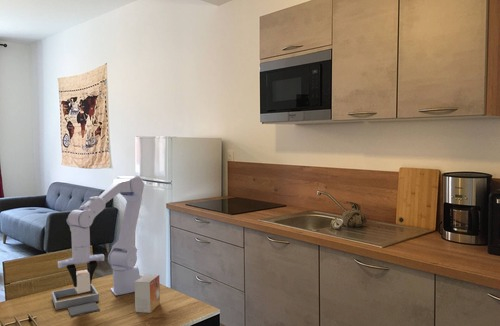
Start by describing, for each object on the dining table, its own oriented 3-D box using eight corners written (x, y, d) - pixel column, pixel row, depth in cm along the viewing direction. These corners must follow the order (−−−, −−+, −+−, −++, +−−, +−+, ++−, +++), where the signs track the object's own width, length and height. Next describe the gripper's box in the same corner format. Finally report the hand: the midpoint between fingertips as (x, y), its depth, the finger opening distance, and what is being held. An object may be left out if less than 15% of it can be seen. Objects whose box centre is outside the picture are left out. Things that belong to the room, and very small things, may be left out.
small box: (150, 313, 133) (149, 282, 133) (135, 312, 134) (133, 281, 134) (160, 303, 141) (159, 274, 141) (145, 302, 142) (144, 273, 142)
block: (87, 286, 140) (86, 269, 140) (90, 290, 136) (89, 272, 136) (74, 289, 138) (74, 271, 138) (77, 293, 134) (77, 275, 133)
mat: (94, 302, 143) (94, 301, 143) (99, 310, 136) (99, 309, 136) (67, 308, 138) (67, 307, 138) (70, 316, 131) (70, 315, 131)
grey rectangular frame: (92, 290, 155) (92, 284, 155) (98, 300, 145) (98, 293, 144) (52, 298, 147) (51, 291, 147) (55, 309, 137) (55, 302, 137)
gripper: (100, 239, 143) (101, 277, 144) (55, 246, 135) (57, 285, 136) (105, 243, 137) (106, 282, 138) (59, 250, 129) (60, 292, 130)
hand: (82, 284), depth 137 cm, fingers closed on block, 4 cm apart
